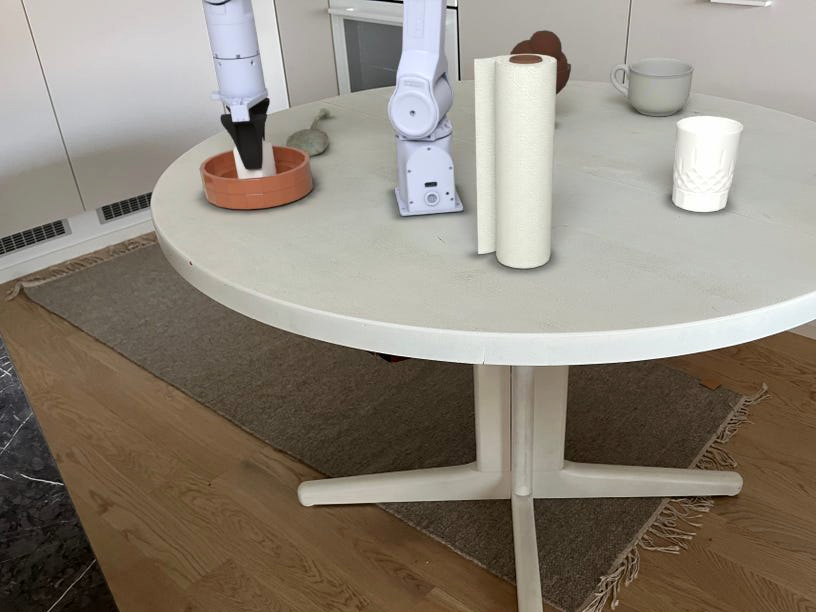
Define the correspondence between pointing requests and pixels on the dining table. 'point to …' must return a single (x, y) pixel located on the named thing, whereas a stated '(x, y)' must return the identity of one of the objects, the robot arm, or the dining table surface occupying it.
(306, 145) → the soupspoon
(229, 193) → the clay bowl
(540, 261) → the paper towel roll
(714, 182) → the white cup
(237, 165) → the pepper shaker
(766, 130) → the dining table surface
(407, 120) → the robot arm
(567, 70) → the brown rounded tall piece
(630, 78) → the teacup
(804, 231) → the dining table surface
